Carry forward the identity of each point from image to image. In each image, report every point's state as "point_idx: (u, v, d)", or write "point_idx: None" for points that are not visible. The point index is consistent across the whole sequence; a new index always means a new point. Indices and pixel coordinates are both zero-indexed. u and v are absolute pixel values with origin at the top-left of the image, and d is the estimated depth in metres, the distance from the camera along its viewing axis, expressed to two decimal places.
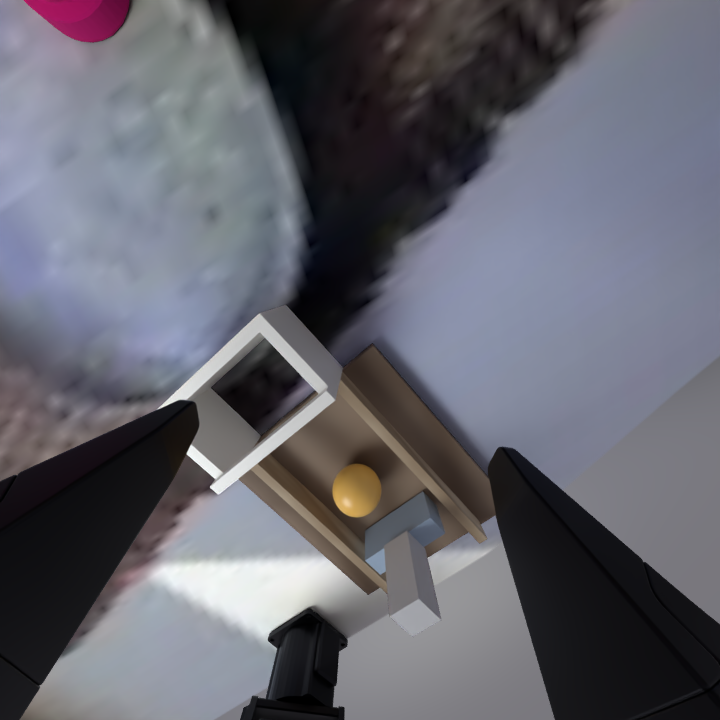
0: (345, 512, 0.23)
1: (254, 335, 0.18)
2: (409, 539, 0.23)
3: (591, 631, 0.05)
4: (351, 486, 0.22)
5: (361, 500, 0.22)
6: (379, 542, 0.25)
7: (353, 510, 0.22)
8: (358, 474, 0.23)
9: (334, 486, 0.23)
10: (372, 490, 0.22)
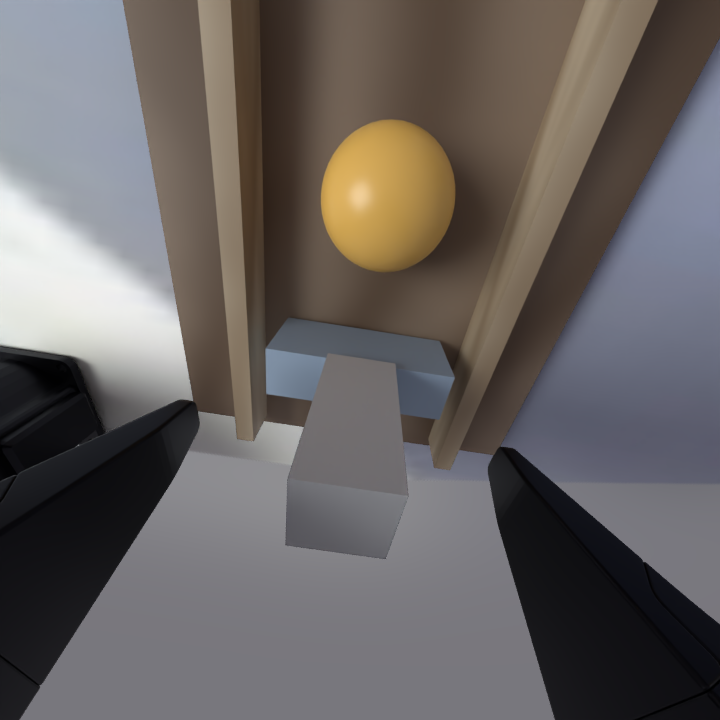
0: (343, 199, 0.07)
1: None
2: (396, 377, 0.10)
3: (591, 631, 0.05)
4: (424, 150, 0.07)
5: (416, 202, 0.07)
6: (315, 345, 0.11)
7: (372, 207, 0.07)
8: (446, 156, 0.08)
9: (365, 126, 0.08)
10: (443, 217, 0.08)
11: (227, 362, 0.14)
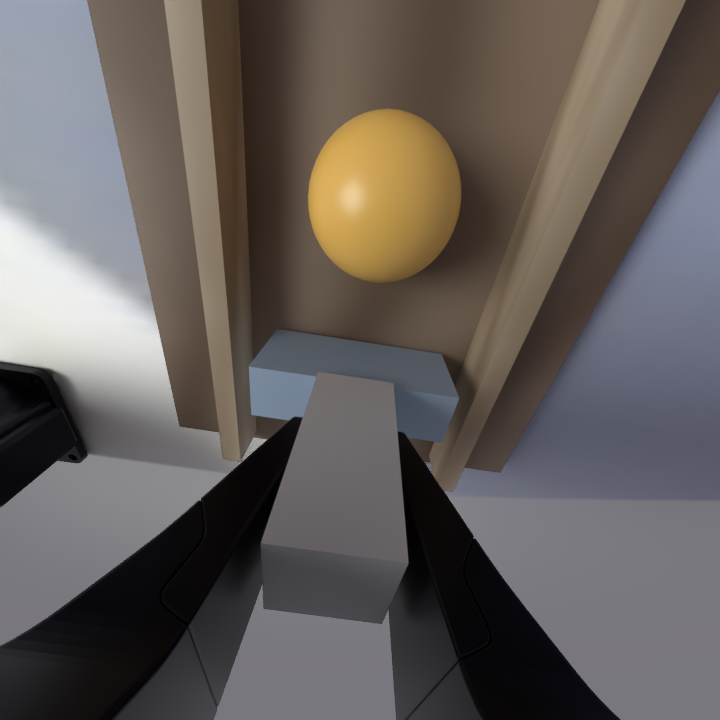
0: (332, 201, 0.06)
1: None
2: (394, 400, 0.09)
3: (414, 608, 0.05)
4: (426, 143, 0.06)
5: (416, 204, 0.06)
6: (304, 361, 0.10)
7: (366, 210, 0.06)
8: (451, 151, 0.07)
9: (358, 116, 0.07)
10: (448, 222, 0.07)
11: None
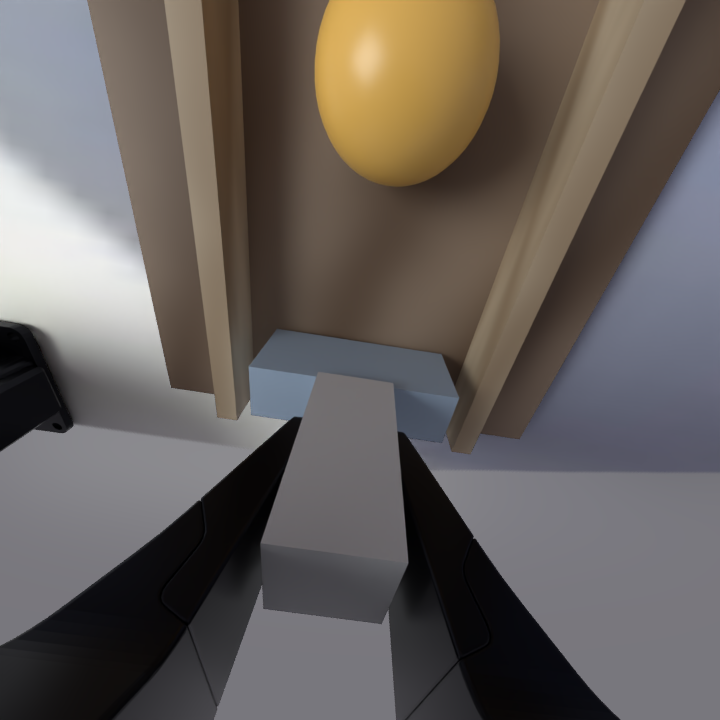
0: (346, 46, 0.05)
1: None
2: (393, 399, 0.09)
3: (414, 607, 0.05)
4: None
5: (451, 41, 0.05)
6: (304, 361, 0.10)
7: (388, 49, 0.05)
8: None
9: None
10: (485, 83, 0.06)
11: (206, 326, 0.12)
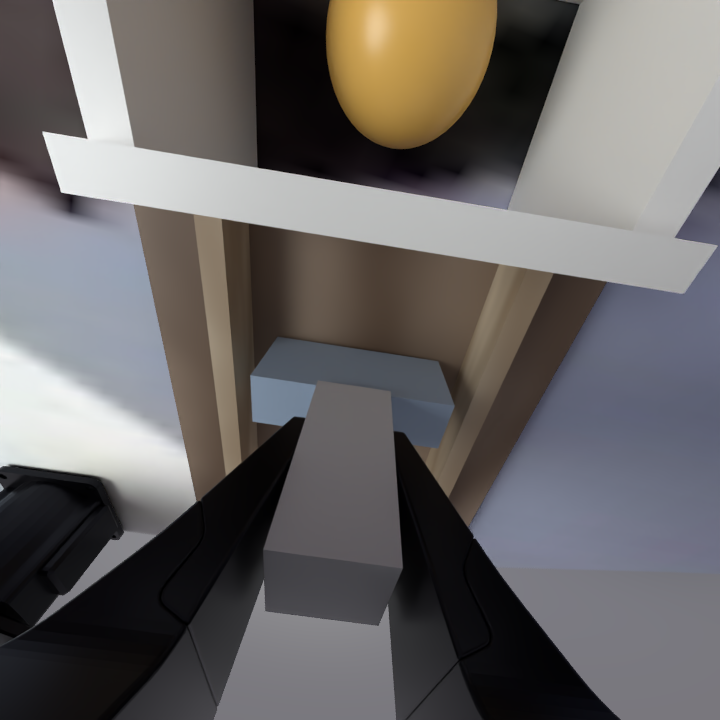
0: (354, 45, 0.06)
1: None
2: (391, 407, 0.09)
3: (414, 608, 0.05)
4: None
5: (443, 46, 0.06)
6: (304, 370, 0.10)
7: (389, 55, 0.06)
8: None
9: None
10: (476, 69, 0.06)
11: None
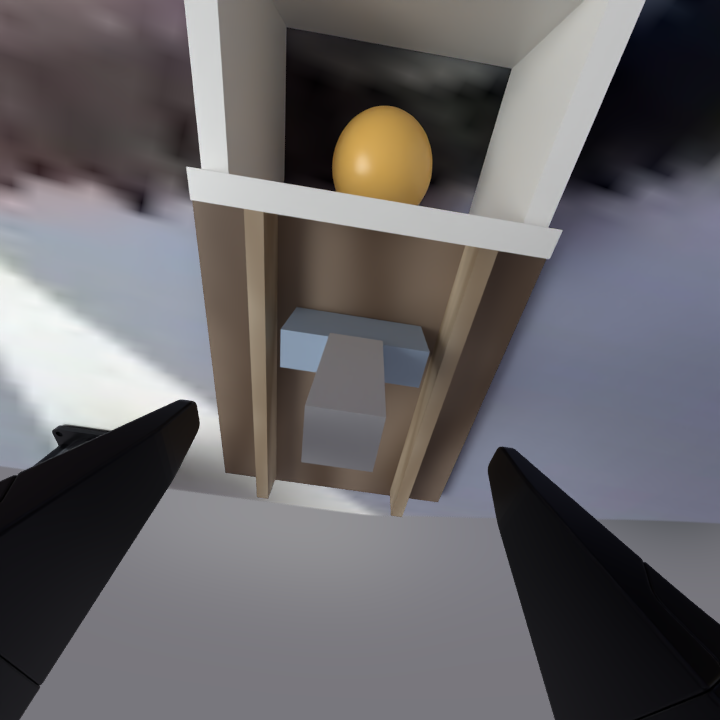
0: None
1: None
2: (382, 350, 0.12)
3: (591, 631, 0.05)
4: None
5: None
6: (319, 327, 0.14)
7: None
8: (416, 186, 0.11)
9: (356, 171, 0.10)
10: None
11: (250, 444, 0.21)
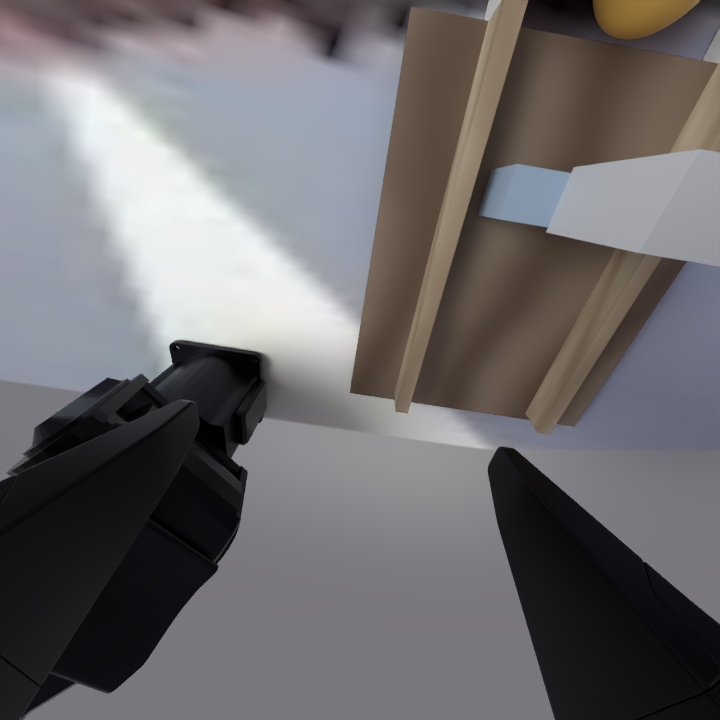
0: (614, 8, 0.11)
1: None
2: None
3: (591, 631, 0.05)
4: None
5: (665, 21, 0.11)
6: None
7: (630, 25, 0.11)
8: None
9: None
10: (689, 10, 0.11)
11: (386, 355, 0.20)
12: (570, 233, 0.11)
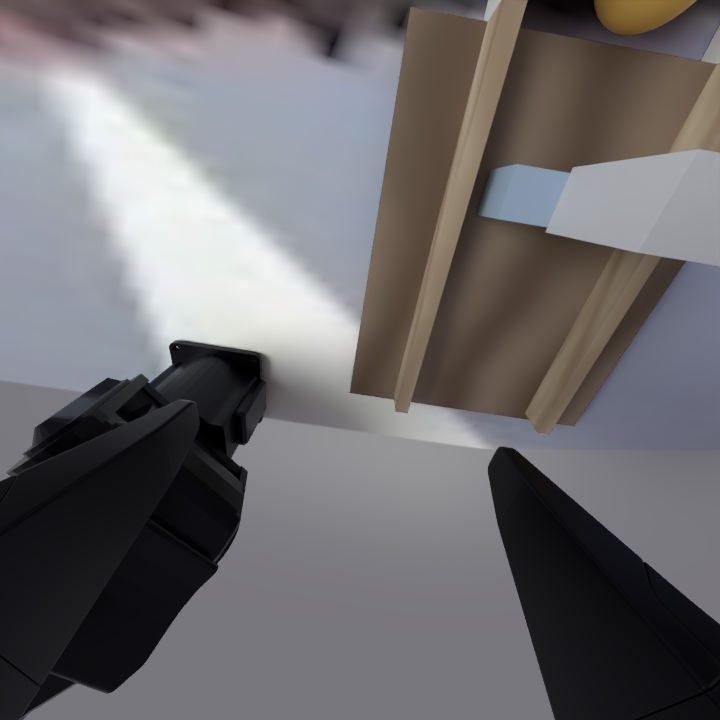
0: (618, 1, 0.11)
1: None
2: None
3: (592, 631, 0.05)
4: None
5: (670, 13, 0.10)
6: None
7: (634, 17, 0.11)
8: None
9: None
10: (692, 3, 0.11)
11: (386, 355, 0.20)
12: (569, 233, 0.11)
